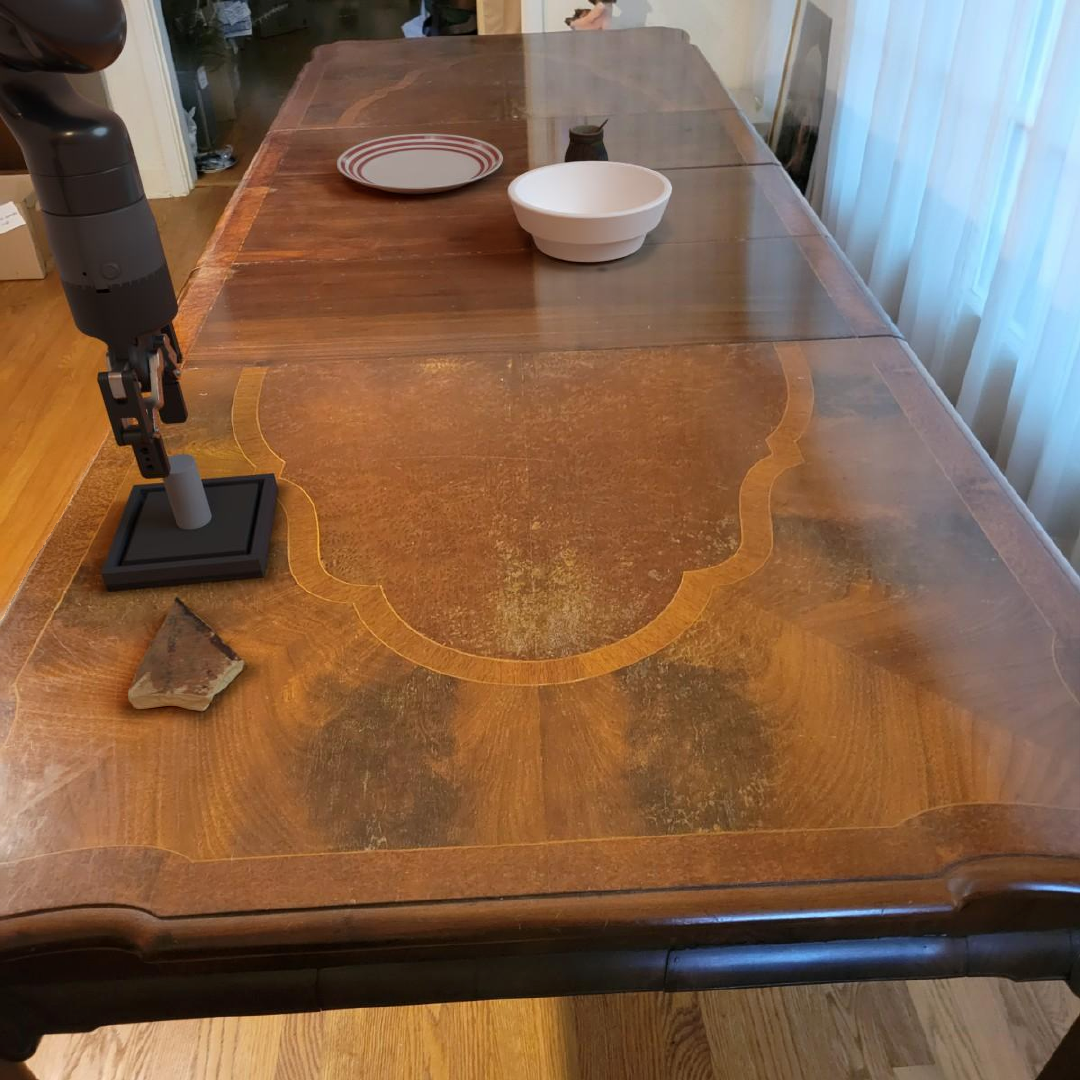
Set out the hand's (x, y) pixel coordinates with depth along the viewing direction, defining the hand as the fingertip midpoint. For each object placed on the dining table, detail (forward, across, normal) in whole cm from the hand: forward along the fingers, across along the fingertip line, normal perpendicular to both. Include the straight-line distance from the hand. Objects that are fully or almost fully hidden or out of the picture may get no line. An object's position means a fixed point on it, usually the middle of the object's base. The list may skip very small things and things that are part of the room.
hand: (166, 447), depth 82 cm
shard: (+10, +17, +1) cm, 19 cm away
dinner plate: (+9, -96, +23) cm, 99 cm away
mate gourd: (+8, -89, +50) cm, 102 cm away
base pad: (+10, 0, 0) cm, 10 cm away
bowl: (+9, -61, +46) cm, 77 cm away
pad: (+9, 0, 0) cm, 9 cm away
